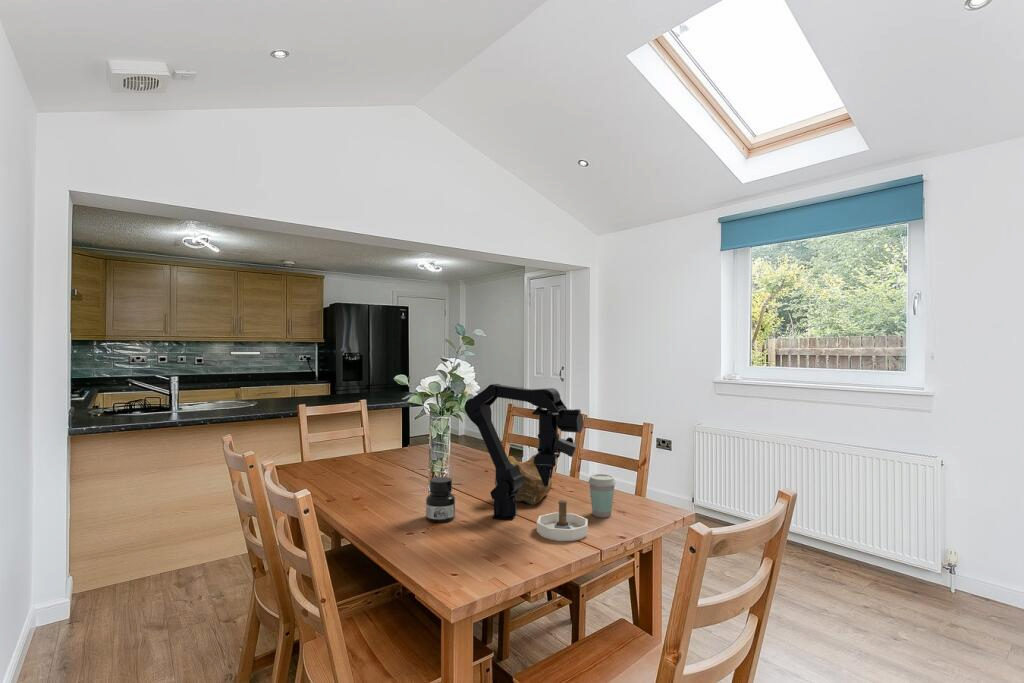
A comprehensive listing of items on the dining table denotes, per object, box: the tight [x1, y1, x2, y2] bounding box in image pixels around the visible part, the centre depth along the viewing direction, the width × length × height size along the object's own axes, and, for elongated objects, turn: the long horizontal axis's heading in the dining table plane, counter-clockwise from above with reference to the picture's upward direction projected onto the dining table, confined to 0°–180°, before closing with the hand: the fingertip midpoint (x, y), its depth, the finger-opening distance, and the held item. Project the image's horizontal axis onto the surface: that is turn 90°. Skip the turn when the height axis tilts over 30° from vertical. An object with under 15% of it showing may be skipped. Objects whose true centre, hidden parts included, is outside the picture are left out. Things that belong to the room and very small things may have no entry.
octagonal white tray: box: [536, 511, 589, 542], centre depth 147 cm, size 14×14×3 cm
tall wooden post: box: [558, 499, 568, 526], centre depth 147 cm, size 2×2×8 cm
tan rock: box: [494, 454, 553, 506], centre depth 178 cm, size 23×17×15 cm
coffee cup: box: [587, 473, 616, 518], centre depth 162 cm, size 8×9×12 cm
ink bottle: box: [425, 476, 456, 523], centre depth 158 cm, size 10×9×12 cm
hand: (547, 482), depth 154 cm, fingers open, 9 cm apart
